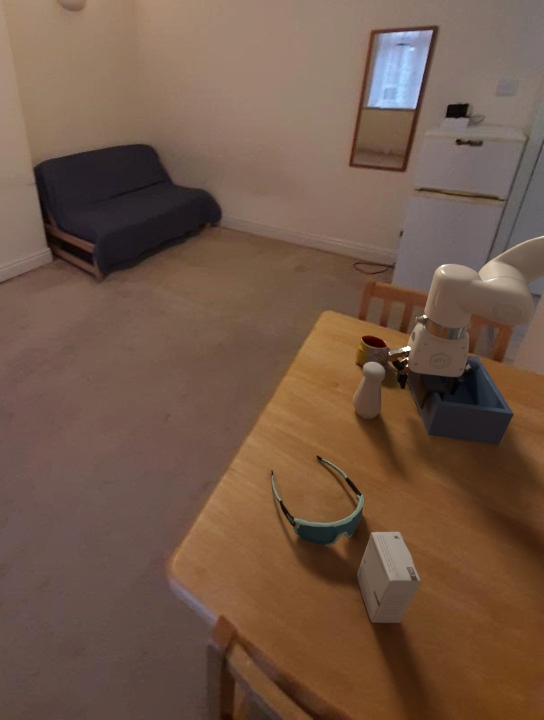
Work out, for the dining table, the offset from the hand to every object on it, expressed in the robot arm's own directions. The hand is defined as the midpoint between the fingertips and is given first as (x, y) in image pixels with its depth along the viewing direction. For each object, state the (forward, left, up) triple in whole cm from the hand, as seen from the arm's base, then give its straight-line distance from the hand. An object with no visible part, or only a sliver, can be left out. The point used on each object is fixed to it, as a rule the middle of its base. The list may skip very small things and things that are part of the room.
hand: (424, 387), depth 88 cm
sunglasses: (+24, +26, -6) cm, 36 cm away
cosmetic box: (+16, +39, -6) cm, 43 cm away
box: (-6, 0, -5) cm, 8 cm away
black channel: (0, 0, -1) cm, 2 cm away
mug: (+6, -11, -6) cm, 14 cm away
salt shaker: (+12, +4, -6) cm, 14 cm away
